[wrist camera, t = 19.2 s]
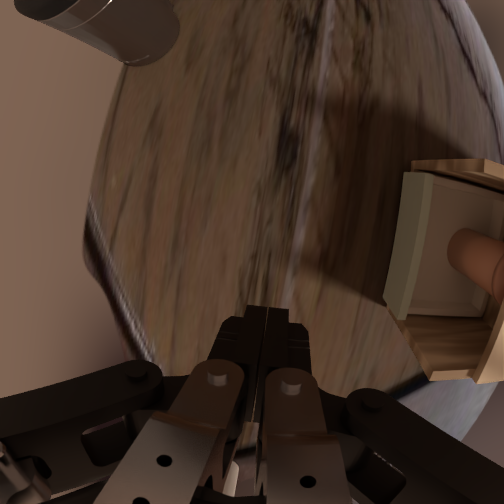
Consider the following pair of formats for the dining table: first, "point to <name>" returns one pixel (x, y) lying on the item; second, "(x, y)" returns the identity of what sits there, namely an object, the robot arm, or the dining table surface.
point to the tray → (438, 246)
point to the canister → (479, 260)
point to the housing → (459, 327)
